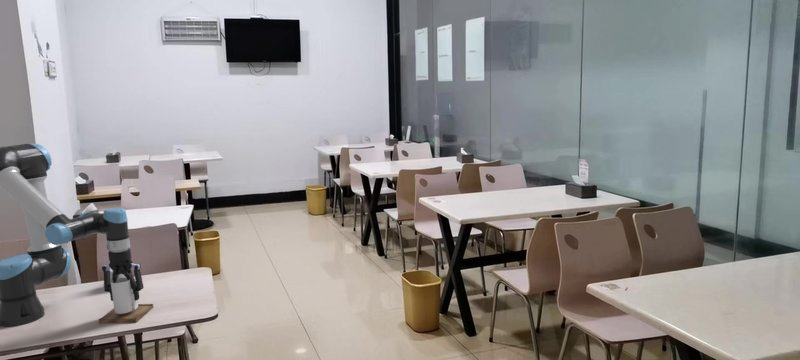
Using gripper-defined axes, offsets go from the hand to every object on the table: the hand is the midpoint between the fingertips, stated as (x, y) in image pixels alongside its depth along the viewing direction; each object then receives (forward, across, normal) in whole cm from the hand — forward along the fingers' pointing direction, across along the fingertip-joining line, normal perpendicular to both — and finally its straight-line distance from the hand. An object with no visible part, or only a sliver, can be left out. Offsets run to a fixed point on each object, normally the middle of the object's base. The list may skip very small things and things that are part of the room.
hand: (126, 308), depth 220 cm
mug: (0, 0, 0) cm, 1 cm away
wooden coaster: (+3, 0, 0) cm, 3 cm away
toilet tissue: (+3, -20, +33) cm, 38 cm away
